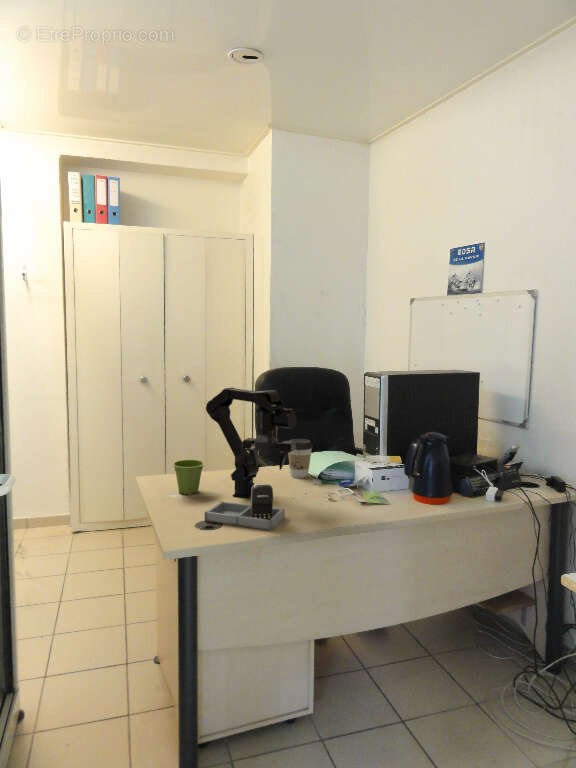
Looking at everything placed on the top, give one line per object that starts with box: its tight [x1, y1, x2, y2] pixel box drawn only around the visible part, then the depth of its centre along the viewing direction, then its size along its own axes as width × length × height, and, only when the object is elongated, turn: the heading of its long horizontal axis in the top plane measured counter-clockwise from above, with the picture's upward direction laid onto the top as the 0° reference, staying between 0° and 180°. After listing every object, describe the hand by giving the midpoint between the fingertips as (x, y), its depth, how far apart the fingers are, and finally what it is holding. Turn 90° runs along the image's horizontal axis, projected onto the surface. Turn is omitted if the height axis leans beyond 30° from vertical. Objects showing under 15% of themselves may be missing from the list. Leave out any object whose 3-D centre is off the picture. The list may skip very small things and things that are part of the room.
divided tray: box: [204, 501, 285, 532], centre depth 176 cm, size 23×12×3 cm, turn 71°
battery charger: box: [250, 483, 274, 520], centre depth 173 cm, size 7×4×11 cm, turn 97°
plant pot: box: [172, 459, 205, 495], centre depth 204 cm, size 12×12×11 cm
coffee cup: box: [287, 438, 314, 479], centre depth 229 cm, size 11×11×15 cm
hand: (268, 468), depth 194 cm, fingers open, 9 cm apart
